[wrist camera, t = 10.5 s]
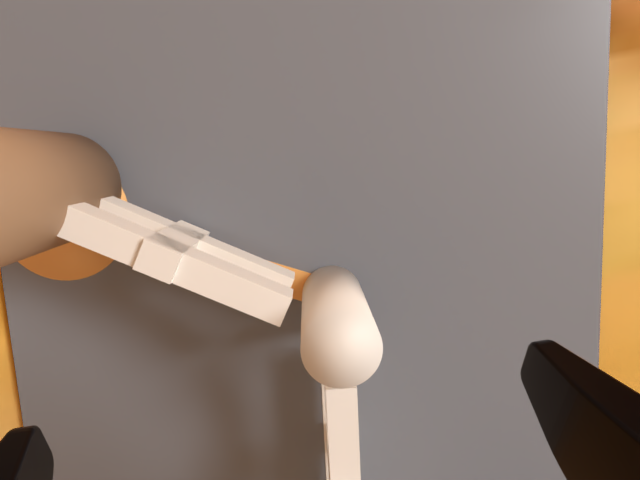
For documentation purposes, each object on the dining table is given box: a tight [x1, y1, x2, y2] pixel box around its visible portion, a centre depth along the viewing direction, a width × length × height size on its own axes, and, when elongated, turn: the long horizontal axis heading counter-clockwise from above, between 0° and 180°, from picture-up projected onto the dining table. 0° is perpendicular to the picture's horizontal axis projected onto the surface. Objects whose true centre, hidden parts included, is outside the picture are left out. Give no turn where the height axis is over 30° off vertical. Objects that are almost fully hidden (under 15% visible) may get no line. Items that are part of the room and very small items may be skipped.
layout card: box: [0, 0, 611, 480], centre depth 22 cm, size 26×24×1 cm
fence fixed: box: [300, 266, 383, 480], centre depth 19 cm, size 13×3×6 cm, turn 3°
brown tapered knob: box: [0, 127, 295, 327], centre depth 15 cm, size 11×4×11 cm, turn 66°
